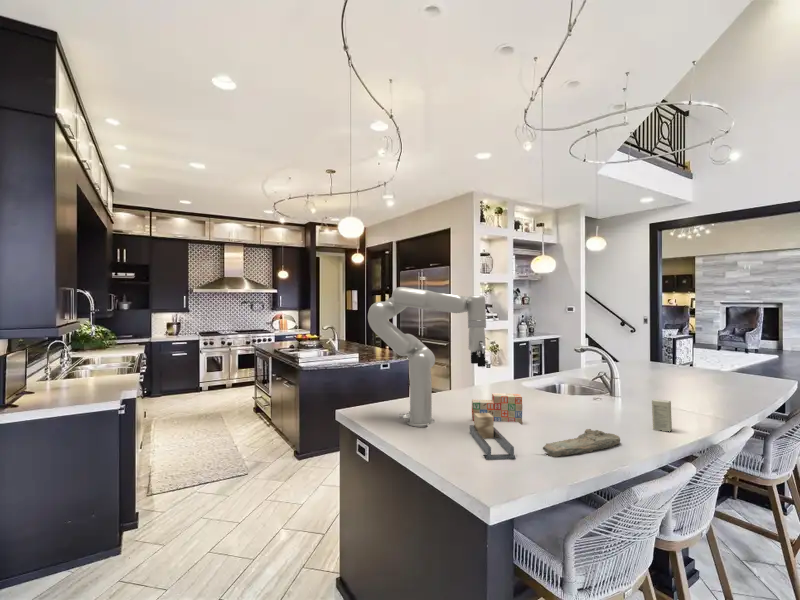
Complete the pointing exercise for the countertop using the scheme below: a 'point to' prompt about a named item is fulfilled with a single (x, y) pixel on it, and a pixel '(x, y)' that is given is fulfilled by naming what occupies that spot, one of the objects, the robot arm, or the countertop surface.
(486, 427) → the block
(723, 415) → the countertop surface
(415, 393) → the robot arm
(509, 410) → the stack of blocks
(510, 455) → the chute
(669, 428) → the skincare box
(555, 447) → the long grey stone
